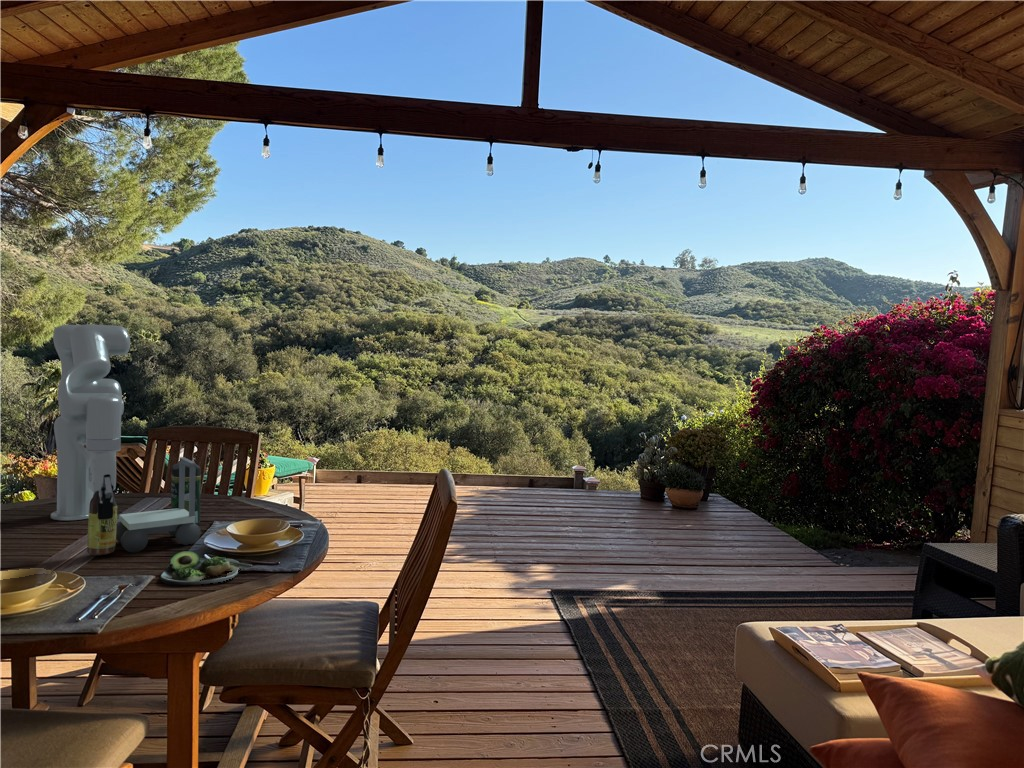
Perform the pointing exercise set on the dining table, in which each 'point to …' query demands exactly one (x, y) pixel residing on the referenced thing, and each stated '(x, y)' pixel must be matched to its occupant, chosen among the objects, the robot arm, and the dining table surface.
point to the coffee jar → (176, 489)
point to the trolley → (162, 518)
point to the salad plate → (189, 563)
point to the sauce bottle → (101, 529)
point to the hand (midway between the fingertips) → (102, 515)
